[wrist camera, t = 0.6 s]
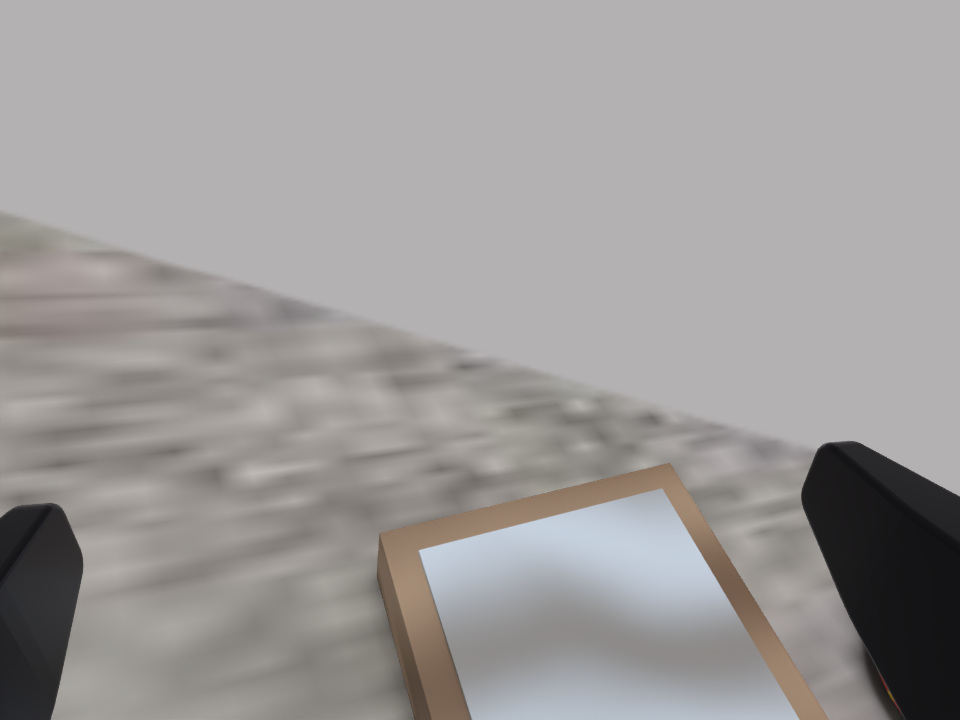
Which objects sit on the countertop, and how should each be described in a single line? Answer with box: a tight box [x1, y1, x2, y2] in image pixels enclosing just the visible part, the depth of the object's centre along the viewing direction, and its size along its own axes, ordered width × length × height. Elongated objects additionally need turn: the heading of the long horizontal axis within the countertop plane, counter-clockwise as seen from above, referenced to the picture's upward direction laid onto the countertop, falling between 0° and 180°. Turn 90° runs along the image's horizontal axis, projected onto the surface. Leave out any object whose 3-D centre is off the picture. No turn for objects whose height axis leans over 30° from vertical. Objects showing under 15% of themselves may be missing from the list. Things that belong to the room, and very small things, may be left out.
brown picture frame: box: [377, 463, 829, 720], centre depth 22 cm, size 11×11×3 cm
